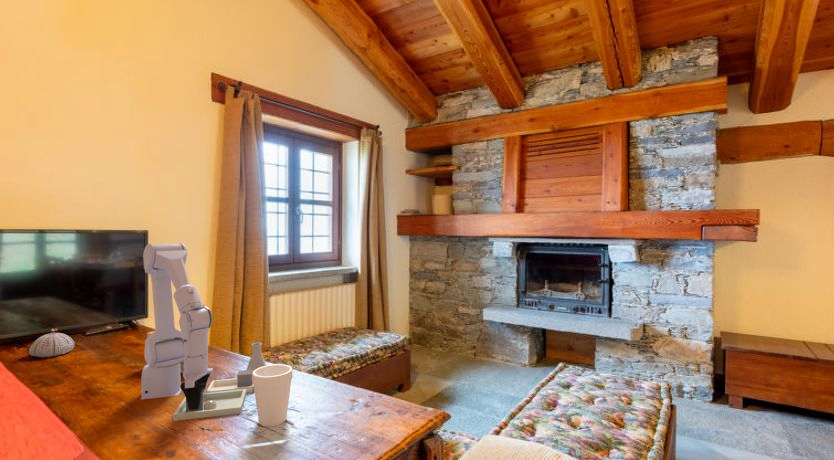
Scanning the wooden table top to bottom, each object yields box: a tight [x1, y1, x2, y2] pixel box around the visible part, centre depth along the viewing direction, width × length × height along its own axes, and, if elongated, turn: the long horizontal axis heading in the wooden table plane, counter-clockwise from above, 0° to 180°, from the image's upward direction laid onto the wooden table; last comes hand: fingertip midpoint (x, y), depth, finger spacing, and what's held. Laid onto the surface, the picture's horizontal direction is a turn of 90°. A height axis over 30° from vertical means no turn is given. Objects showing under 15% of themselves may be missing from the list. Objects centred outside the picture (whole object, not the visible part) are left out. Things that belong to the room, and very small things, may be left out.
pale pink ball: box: [204, 400, 216, 410], centre depth 107 cm, size 3×3×3 cm
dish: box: [206, 377, 255, 394], centre depth 123 cm, size 13×9×2 cm
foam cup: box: [252, 363, 293, 427], centre depth 103 cm, size 10×9×13 cm
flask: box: [246, 342, 267, 371], centre depth 137 cm, size 7×7×10 cm
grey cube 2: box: [186, 387, 207, 412], centre depth 110 cm, size 4×4×4 cm
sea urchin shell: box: [28, 332, 76, 358], centre depth 159 cm, size 13×14×8 cm
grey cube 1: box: [236, 369, 253, 387], centre depth 124 cm, size 4×4×4 cm
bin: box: [172, 389, 247, 422], centre depth 111 cm, size 16×13×2 cm
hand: (196, 405), depth 110 cm, fingers open, 4 cm apart
